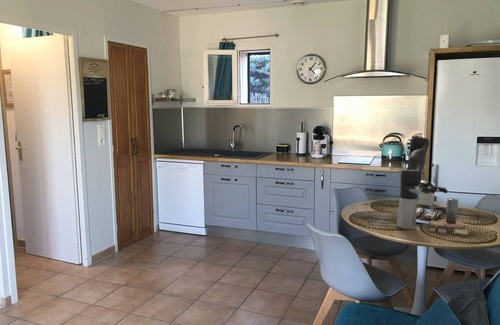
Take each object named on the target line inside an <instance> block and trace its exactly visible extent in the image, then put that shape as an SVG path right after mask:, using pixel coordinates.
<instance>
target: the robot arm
mask: <svg viewBox="0 0 500 325" xmlns="http://www.w3.org/2000/svg"><path fill="white" fill-rule="evenodd" d="M429 147H430V139H429V138H428V137H422V136H418V135H414V136H412V138H411V139H410V143H409V149H408V150H409V151H408V152H409V153H408V160H407V167H406V169H405V168H404V169H402V170H401V172H400V190H399V205H398V207H399V208H398V209H397V212H396V213H397V214H396V226H397V227H398V228H400V229H404V230H414V229H416V220H417V210H418V209H417V207H418V206H417V205H418V193H417V192H419V193H420V192H423V193H426V194H430V193H434V194H435V193H443V194H448V189H446V188H447V187H442V186H440V185H439V186H436V185H435V186H433V184H432V183H433V182H430V181H426V180H423V179H422V178H423V170H424V167H425V163H426V158H427V152H428V151H429ZM413 190H415V191H413ZM416 191H417V192H416Z"/></svg>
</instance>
